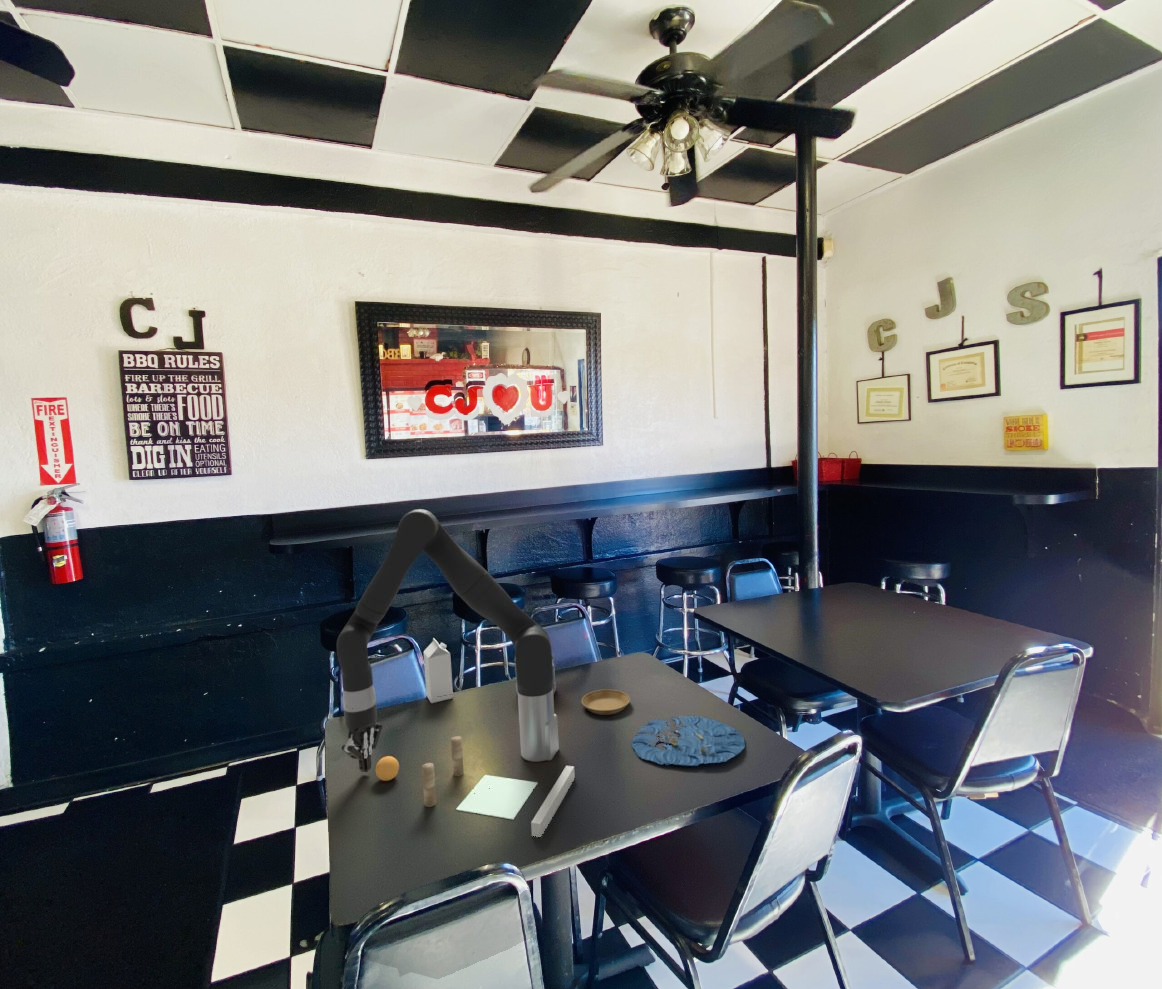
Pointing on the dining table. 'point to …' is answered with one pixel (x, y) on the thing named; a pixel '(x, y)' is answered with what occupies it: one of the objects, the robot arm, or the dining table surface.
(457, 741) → the post right
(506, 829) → the dining table surface
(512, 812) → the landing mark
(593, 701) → the plant saucer
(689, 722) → the decorative plate
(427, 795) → the post left
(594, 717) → the dining table surface
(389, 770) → the ball
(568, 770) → the rail
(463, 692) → the dining table surface
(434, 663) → the milk carton
